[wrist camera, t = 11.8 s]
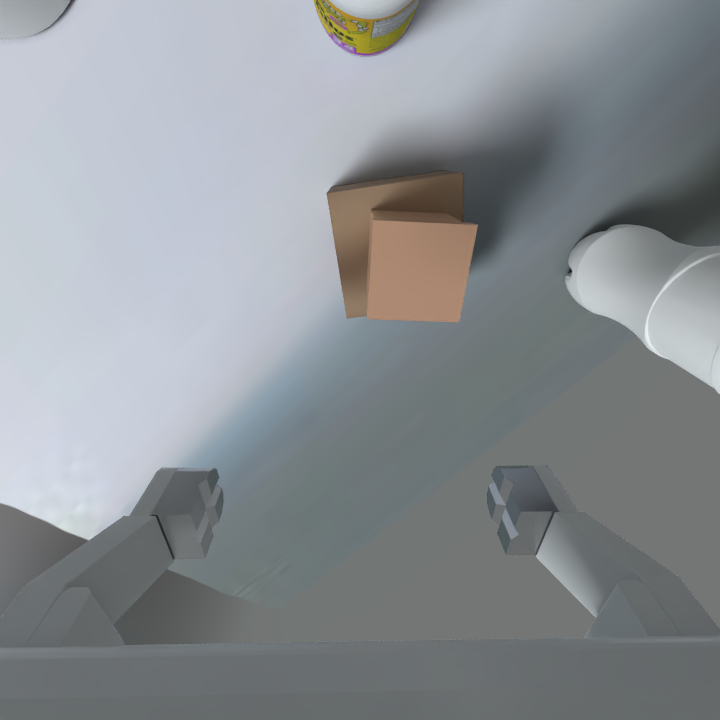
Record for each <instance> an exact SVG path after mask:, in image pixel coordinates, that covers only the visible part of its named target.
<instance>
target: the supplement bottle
mask: <svg viewBox="0 0 720 720" xmlns="http://www.w3.org/2000/svg"><path fill="white" fill-rule="evenodd" d="M419 2H420V0H314V3H315V7H316V11H317V14H318V16H319V19H320V22H321V24H322V26H323V28H324V30H325V31H326V33H327V34H328V36H329V37H330V38H331V40H332V41H333V42H334V43H335V44H336V45H337V46H338V47H340V48H341V49H342V50H344V51H346V52H347V53H350V54H352V55H355V56H360V57H371V56H376V55H379V54H381V53H383V52H385V51H387V50H388V49H390V48H391V47H392V46H393V45H394V44H396V43H397V42H398V40H399V39H400V38H401V37H402V36H403V34H404V33H405V31H406V29H407V28H408V26H409V24H410V22H411V20H412V18H413V15H414V13H415V11H416V8H417V6H418V4H419Z"/></svg>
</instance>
